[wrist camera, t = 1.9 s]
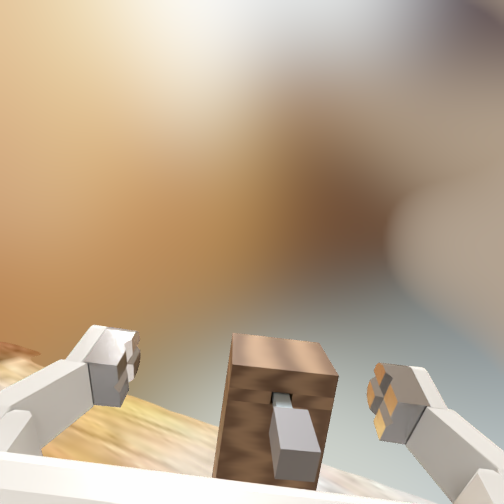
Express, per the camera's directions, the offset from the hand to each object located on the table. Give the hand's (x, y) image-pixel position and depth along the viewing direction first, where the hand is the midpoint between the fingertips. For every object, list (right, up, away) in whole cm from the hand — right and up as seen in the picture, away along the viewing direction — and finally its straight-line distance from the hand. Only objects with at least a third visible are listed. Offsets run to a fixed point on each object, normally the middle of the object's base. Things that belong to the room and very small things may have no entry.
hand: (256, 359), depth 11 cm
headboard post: (0, -41, +41) cm, 58 cm away
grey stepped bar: (+4, -17, +29) cm, 34 cm away
